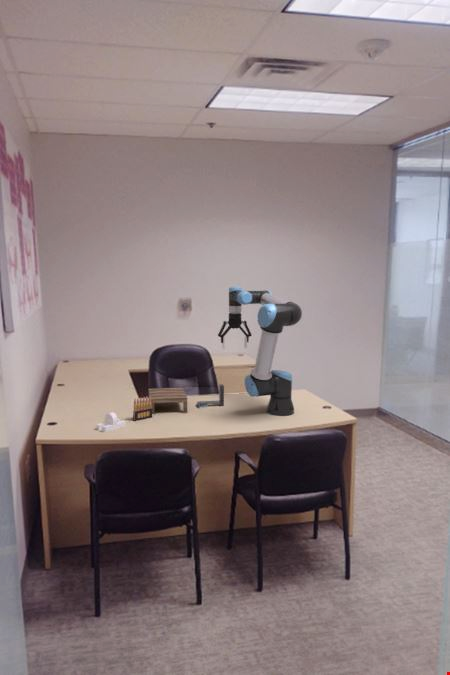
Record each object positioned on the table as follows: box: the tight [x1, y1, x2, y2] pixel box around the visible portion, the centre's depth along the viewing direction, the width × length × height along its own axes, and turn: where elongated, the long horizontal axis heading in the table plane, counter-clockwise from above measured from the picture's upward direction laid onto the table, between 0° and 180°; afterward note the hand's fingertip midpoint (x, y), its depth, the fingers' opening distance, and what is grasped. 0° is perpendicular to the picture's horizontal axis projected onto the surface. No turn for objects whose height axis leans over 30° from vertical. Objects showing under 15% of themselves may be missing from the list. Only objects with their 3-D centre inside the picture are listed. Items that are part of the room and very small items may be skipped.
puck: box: [200, 404, 209, 408], centre depth 291 cm, size 5×5×1 cm
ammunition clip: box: [132, 395, 153, 422], centre depth 265 cm, size 11×2×12 cm, turn 129°
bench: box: [148, 387, 188, 415], centre depth 286 cm, size 24×20×8 cm
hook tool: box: [196, 383, 225, 409], centre depth 291 cm, size 7×15×12 cm, turn 101°
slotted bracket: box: [96, 411, 126, 433], centre depth 251 cm, size 13×7×8 cm, turn 140°
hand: (234, 348), depth 301 cm, fingers open, 13 cm apart
